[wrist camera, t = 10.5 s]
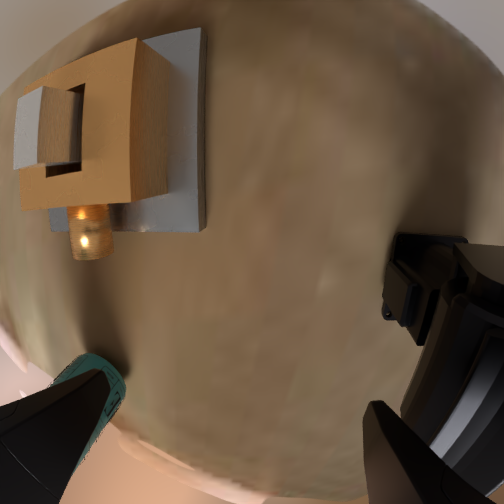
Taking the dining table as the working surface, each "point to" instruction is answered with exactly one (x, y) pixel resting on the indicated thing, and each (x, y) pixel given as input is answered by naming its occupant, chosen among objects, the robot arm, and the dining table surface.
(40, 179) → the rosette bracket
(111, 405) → the beverage bottle
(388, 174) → the dining table surface
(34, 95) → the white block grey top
